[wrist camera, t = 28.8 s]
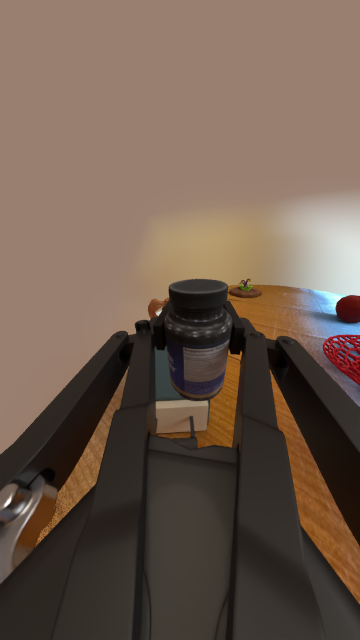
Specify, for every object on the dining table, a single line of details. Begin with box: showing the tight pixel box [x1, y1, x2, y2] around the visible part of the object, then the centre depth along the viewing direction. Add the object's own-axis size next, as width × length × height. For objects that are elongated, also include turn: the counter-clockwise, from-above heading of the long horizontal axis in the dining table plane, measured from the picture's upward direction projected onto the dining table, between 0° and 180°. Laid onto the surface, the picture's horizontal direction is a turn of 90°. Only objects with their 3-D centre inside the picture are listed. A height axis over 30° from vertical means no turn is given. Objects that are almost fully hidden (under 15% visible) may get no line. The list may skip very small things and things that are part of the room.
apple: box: [336, 295, 360, 323], centre depth 55 cm, size 11×11×12 cm
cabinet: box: [155, 345, 210, 425], centre depth 30 cm, size 15×13×10 cm
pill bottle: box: [164, 279, 232, 401], centre depth 13 cm, size 6×6×11 cm
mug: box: [148, 298, 169, 318], centre depth 55 cm, size 15×8×15 cm, turn 105°
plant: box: [229, 279, 262, 298], centre depth 98 cm, size 20×20×11 cm
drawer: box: [156, 399, 208, 449], centre depth 27 cm, size 18×12×8 cm, turn 2°
